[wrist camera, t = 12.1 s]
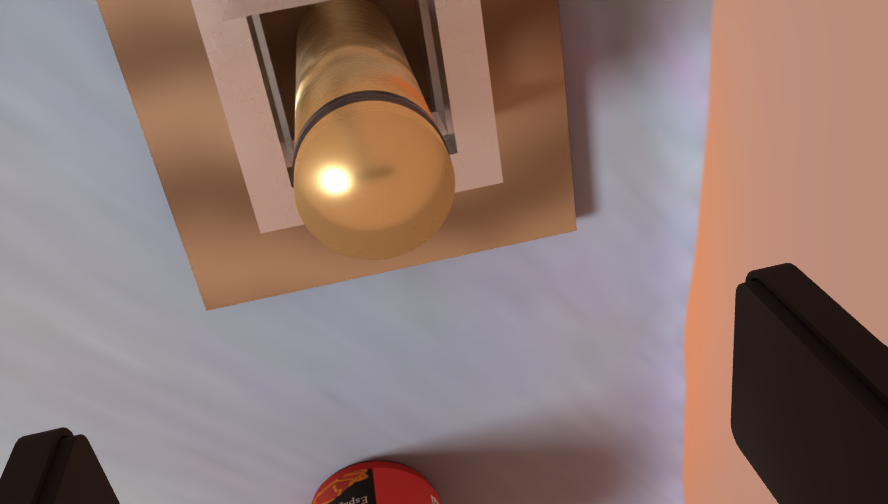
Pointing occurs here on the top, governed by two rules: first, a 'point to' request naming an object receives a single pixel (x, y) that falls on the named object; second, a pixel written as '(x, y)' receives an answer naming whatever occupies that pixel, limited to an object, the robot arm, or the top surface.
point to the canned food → (376, 486)
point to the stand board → (212, 149)
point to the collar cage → (272, 134)
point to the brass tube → (364, 137)
